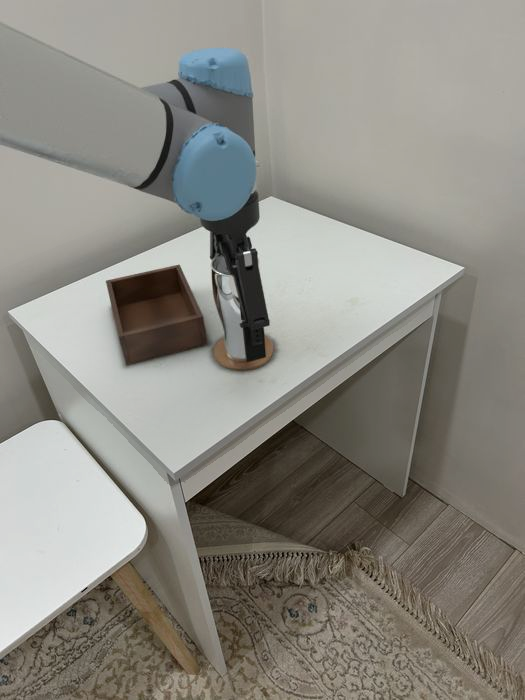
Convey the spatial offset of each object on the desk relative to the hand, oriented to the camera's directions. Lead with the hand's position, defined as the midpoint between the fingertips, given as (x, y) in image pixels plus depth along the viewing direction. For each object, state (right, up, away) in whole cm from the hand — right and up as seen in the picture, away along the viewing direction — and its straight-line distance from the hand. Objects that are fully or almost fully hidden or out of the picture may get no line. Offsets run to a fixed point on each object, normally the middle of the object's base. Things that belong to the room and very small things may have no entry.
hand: (241, 331), depth 80 cm
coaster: (0, -3, +2) cm, 4 cm away
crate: (-14, +1, +9) cm, 17 cm away
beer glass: (0, -3, +2) cm, 3 cm away
